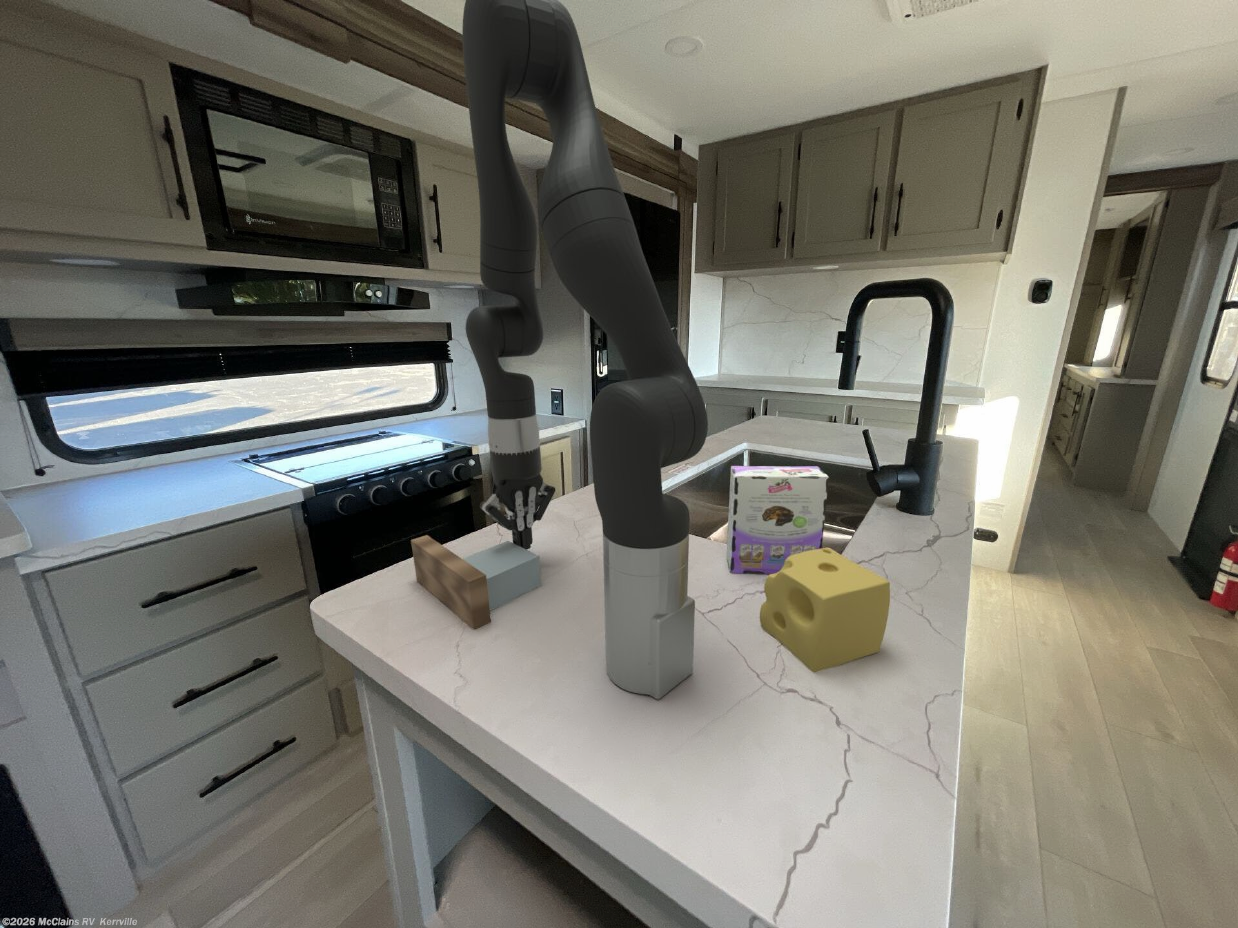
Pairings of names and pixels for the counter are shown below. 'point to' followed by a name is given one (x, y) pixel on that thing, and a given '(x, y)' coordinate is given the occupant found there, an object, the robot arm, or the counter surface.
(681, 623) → the robot arm
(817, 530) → the candy box
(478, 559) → the grey block
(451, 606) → the walnut board
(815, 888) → the counter surface
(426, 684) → the counter surface
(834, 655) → the cheese
